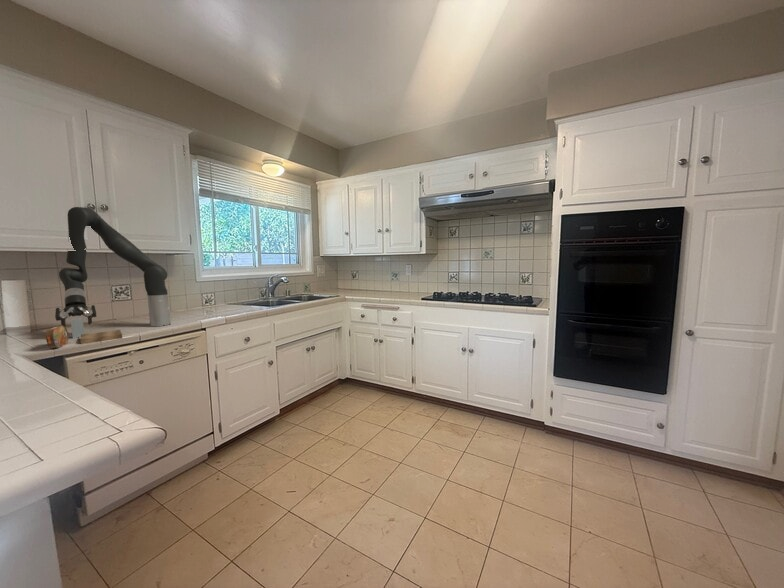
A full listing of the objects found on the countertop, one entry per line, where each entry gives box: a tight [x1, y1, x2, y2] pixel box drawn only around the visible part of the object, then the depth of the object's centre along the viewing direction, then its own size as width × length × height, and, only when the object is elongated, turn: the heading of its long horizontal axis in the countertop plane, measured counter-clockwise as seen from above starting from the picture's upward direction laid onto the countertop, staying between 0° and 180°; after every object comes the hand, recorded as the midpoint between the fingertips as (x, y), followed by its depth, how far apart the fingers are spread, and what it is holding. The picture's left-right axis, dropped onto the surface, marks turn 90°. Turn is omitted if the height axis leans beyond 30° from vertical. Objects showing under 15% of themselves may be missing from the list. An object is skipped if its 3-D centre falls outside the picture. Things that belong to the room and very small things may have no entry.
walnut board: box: [80, 329, 123, 345], centre depth 151 cm, size 14×14×2 cm
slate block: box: [70, 317, 85, 339], centre depth 154 cm, size 4×4×9 cm
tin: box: [45, 325, 69, 350], centre depth 137 cm, size 15×3×8 cm, turn 29°
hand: (77, 324), depth 154 cm, fingers open, 8 cm apart
